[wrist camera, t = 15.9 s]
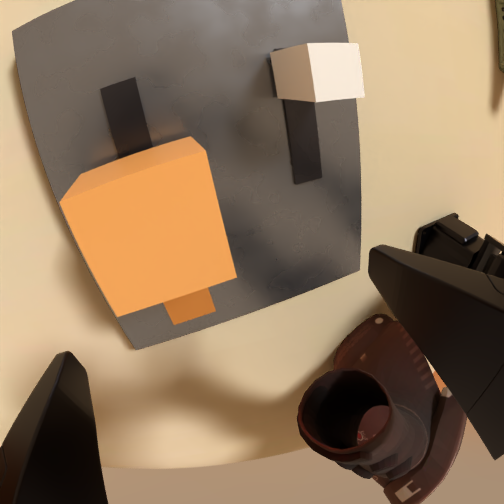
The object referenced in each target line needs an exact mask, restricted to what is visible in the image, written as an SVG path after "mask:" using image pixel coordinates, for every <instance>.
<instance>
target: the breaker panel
mask: <svg viewBox="0 0 504 504" xmlns="http://www.w3.org/2000/svg"><path fill="white" fill-rule="evenodd" d="M12 36H13V44H14V51H15V57H16V63H17V69H18V74H19V79H20V84H21V89H22V93H23V97H24V102H25V106H26V110H27V113H28V117H29V121H30V125H31V128H32V132H33V135H34V138H35V142H36V145H37V148H38V151H39V154H40V157H41V160H42V163H43V166H44V169H45V171H46V174H47V177H48V180H49V182H50V185H51V188H52V190H53V193H54V195H55V198H56V200H57V203H58V205H59V208H60V210H61V212H62V215H63V217H64V219H65V222H66V224H67V226H68V228H69V231H70V233H71V235H72V237H73V239H74V241H75V244H76V246H77V248H78V250H79V252H80V254H81V256H82V258H83V260H84V262H85V264H86V266H87V268H88V270H89V272H90V274H91V275H92V277H93V279H94V281H95V283H96V285H97V287H98V288H99V290H100V292H101V294H102V296H103V297H104V299H105V301H106V303H107V304H108V306H109V308H110V309H111V311H112V313H113V315H114V316H115V318H116V320H117V321H118V323H119V324H120V326H121V328H122V329H123V331H124V332H125V334H126V336H127V337H128V339H129V340H130V342H131V343H132V345H133V346H134V348H135V349H136V350H139V349H142V348H145V347H149V346H152V345H155V344H158V343H162V342H165V341H168V340H171V339H174V338H177V337H181V336H184V335H187V334H190V333H193V332H196V331H199V330H202V329H205V328H208V327H211V326H214V325H217V324H220V323H223V322H226V321H229V320H231V319H234V318H237V317H240V316H243V315H246V314H248V313H251V312H254V311H257V310H260V309H262V308H265V307H268V306H270V305H273V304H276V303H278V302H281V301H284V300H286V299H289V298H292V297H294V296H297V295H300V294H302V293H305V292H307V291H310V290H312V289H315V288H317V287H320V286H323V285H325V284H328V283H330V282H332V281H335V280H337V279H340V278H342V277H345V276H347V275H350V274H352V273H354V272H357V271H359V270H360V251H361V165H360V144H359V128H358V115H357V104H356V98H351V99H341V100H331V101H323V102H309V101H300V100H290V99H278V97H277V90H276V85H275V79H274V73H273V67H272V62H271V56H270V52H274V51H278V50H281V49H285V48H289V47H293V46H297V45H302V44H306V43H349V41H348V35H347V29H346V23H345V18H344V13H343V8H342V3H341V0H75V1H73V2H70V3H68V4H65V5H63V6H61V7H58V8H56V9H54V10H52V11H50V12H48V13H46V14H43V15H41V16H39V17H37V18H35V19H34V20H32V21H30V22H28V23H26V24H24V25H22V26H21V27H19V28H17V29H15V30H13V31H12ZM189 136H191V137H192V138H193V139H194V140H195V141H196V142H197V143H199V144H200V145H201V146H202V147H203V148H204V149H205V150H206V154H207V158H208V162H209V166H210V171H211V175H212V179H213V183H214V187H215V191H216V196H217V200H218V204H219V208H220V212H221V216H222V220H223V224H224V228H225V232H226V236H227V240H228V244H229V248H230V252H231V256H232V260H233V264H234V268H235V272H236V275H237V278H234V279H231V280H228V281H225V282H222V283H219V284H216V285H213V286H210V287H208V288H205V289H202V290H199V291H196V292H193V293H190V294H187V295H184V296H181V297H178V298H175V299H172V300H169V301H166V302H162V303H159V304H156V305H153V306H150V307H147V308H144V309H141V310H138V311H135V312H132V313H129V314H126V315H122V316H119V317H117V316H116V315H115V313H114V311H113V309H112V308H111V306H110V304H109V303H108V301H107V299H106V297H105V296H104V294H103V292H102V290H101V288H100V287H99V285H98V283H97V281H96V279H95V277H94V275H93V273H92V272H91V270H90V268H89V266H88V264H87V262H86V260H85V258H84V256H83V254H82V252H81V250H80V248H79V246H78V243H77V241H76V239H75V237H74V235H73V233H72V231H71V228H70V226H69V224H68V222H67V219H66V217H65V215H64V212H63V210H62V208H61V205H60V203H59V202H60V201H61V199H62V198H63V197H64V195H65V194H66V193H67V191H68V190H69V189H70V187H71V186H72V185H73V183H74V182H75V181H76V179H77V178H78V177H79V176H80V174H82V173H85V172H87V171H90V170H92V169H95V168H97V167H100V166H102V165H105V164H107V163H110V162H113V161H115V160H118V159H121V158H124V157H127V156H129V155H132V154H135V153H138V152H141V151H144V150H147V149H150V148H153V147H156V146H159V145H162V144H166V143H169V142H172V141H176V140H179V139H182V138H186V137H189Z"/></svg>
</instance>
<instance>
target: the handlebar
mask: <svg viewBox="0 0 504 504" xmlns="http://www.w3.org/2000/svg"><path fill="white" fill-rule="evenodd" d="M466 420H467V416H466V414H465V412H464V411H463V409H462V408H461V406H460V405H459V403H458V402H457V401H456V399H455V398H454V396H453V395H452V393H451V392H450V390H449V389H448V387H444V388H443V390H442V392H440V390H439V388H438V386H437V384H436V381H435V379H434V376H433V374H432V371H431V369H430V367H429V365H428V362H427V360H426V358H425V356H424V354H423V353H422V351H421V350H420V349H419V347H418V346H417V345H416V343H415V342H414V341H413V339H412V338H411V337H410V335H409V334H408V333H407V331H406V330H405V329H404V328H403V326H402V325H401V324H400V322H398V321H393V319H392V318H390V317H389V316H388V315H385V314H376V315H374V316H372V317H370V318H368V319H367V320H366V321H364V322H363V323H362V324H361V325H359V326H358V327H357V328H356V329H355V330H354V331H353V332H352V333H351V334H350V335H349V336H348V337H347V338H346V339H344V341H343V342H342V344H341V345H340V347H339V348H338V350H337V352H336V355H335V358H334V370H333V371H329V372H327V373H326V374H324V375H323V376H321V377H319V378H318V379H316V380H315V381H314V382H313V384H312V385H311V386H310V387H309V388H308V389H307V391H306V392H305V393H304V396H303V398H302V400H301V402H300V405H299V407H298V416H297V422H298V427H299V432H300V435H301V436H302V438H303V439H304V440H305V442H306V443H307V444H308V445H309V446H310V447H311V449H313V450H314V451H315V452H317V453H319V454H320V455H322V456H324V457H326V458H328V459H330V460H333V461H335V462H336V463H337V464H338V465H340V466H341V467H343V468H345V469H349V470H352V471H353V472H354V473H356V474H357V475H359V476H361V477H363V478H367V479H370V478H371V477H372V478H373V479H374V480H375V481H376V482H377V483H379V484H380V485H381V486H382V487H383V488H384V493H385V495H386V496H387V498H388V499H389V501H390V503H391V504H420V503H421V502H423V501H424V500H425V499H426V498H427V497H428V496H429V495H431V494H432V493H433V492H434V491H435V489H436V488H437V487H438V486H439V485H440V484H441V483H442V481H443V480H444V479H445V477H446V475H447V474H448V472H449V470H450V468H451V466H452V465H453V463H454V461H455V458H456V456H457V454H458V451H459V449H460V446H461V442H462V439H463V435H464V430H465V425H466Z"/></svg>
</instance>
